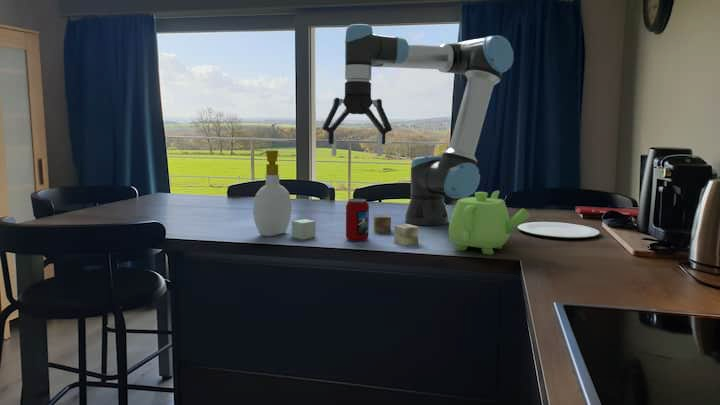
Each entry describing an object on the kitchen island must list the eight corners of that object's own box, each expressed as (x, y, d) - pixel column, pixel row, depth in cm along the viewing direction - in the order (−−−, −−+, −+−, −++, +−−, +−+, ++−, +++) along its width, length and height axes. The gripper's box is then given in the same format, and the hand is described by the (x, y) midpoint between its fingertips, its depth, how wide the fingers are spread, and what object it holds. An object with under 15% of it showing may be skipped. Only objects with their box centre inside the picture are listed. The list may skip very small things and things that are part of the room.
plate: (600, 230, 179) (600, 225, 179) (598, 245, 157) (599, 239, 157) (523, 223, 190) (523, 219, 189) (511, 237, 167) (511, 231, 167)
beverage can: (366, 242, 156) (366, 201, 154) (343, 241, 157) (343, 200, 156) (370, 237, 163) (370, 198, 161) (348, 236, 164) (348, 197, 162)
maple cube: (408, 240, 160) (408, 224, 159) (418, 243, 156) (418, 226, 155) (394, 242, 157) (394, 225, 157) (403, 245, 153) (404, 228, 152)
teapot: (516, 263, 134) (519, 200, 132) (436, 252, 145) (438, 194, 143) (540, 245, 155) (544, 190, 153) (469, 236, 166) (471, 185, 164)
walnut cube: (388, 229, 176) (388, 214, 175) (390, 232, 171) (390, 217, 170) (373, 229, 175) (373, 214, 175) (375, 232, 171) (375, 217, 170)
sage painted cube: (305, 234, 166) (305, 219, 166) (315, 237, 163) (315, 221, 162) (292, 237, 163) (292, 220, 162) (302, 239, 160) (302, 223, 159)
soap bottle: (277, 228, 175) (276, 148, 171) (298, 232, 170) (297, 149, 166) (244, 236, 163) (243, 150, 159) (266, 240, 158) (264, 151, 154)
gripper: (395, 83, 160) (393, 155, 163) (312, 80, 154) (312, 154, 157) (403, 82, 153) (401, 156, 156) (317, 78, 147) (316, 156, 150)
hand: (356, 155), depth 156 cm, fingers open, 13 cm apart
